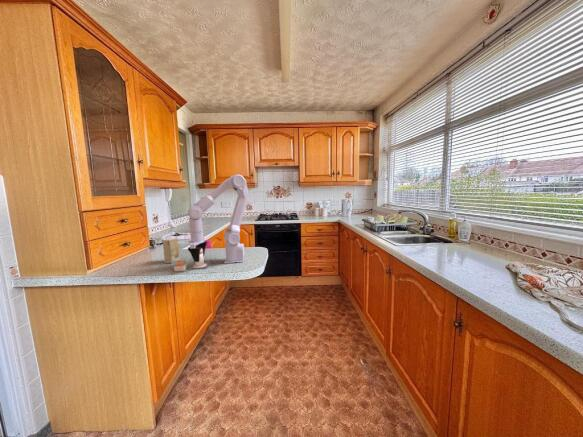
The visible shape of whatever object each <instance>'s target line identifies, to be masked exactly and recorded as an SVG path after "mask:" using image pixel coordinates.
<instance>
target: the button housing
mask: <svg viewBox="0 0 583 437" xmlns="http://www.w3.org/2000/svg"><path fill="white" fill-rule="evenodd" d="M187 268H188V263H186V262H185V265H184V266H176V265H175V266H174V268H173V269H174V272H185V271H186V270H187Z"/></svg>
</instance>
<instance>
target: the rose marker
mask: <svg viewBox="0 0 583 437" xmlns="http://www.w3.org/2000/svg"><path fill="white" fill-rule="evenodd" d="M204 257H205V256H204ZM204 257H203V249H202V248H201V250H200V258H199V262H195V266H196V267H200V266H203V265H204V261H205V260H204Z"/></svg>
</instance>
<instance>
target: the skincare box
mask: <svg viewBox="0 0 583 437" xmlns="http://www.w3.org/2000/svg"><path fill="white" fill-rule="evenodd" d="M162 247H163V248H162V249H163V256H164V263H165V264H173V263H176V262H178V261H180V250H179V243H178V237H170V238H166V239H163V240H162Z"/></svg>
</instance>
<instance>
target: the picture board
mask: <svg viewBox="0 0 583 437" xmlns="http://www.w3.org/2000/svg"><path fill="white" fill-rule="evenodd" d="M212 263H213V260H204V265H203V266H200V267H196V266H195V262H194V261H193V262H192V263H191V264H189V266H187V269H186V270H203V269H205V270H206V269H207V268H208V267H209V266H210V265H211V264H212Z"/></svg>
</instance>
